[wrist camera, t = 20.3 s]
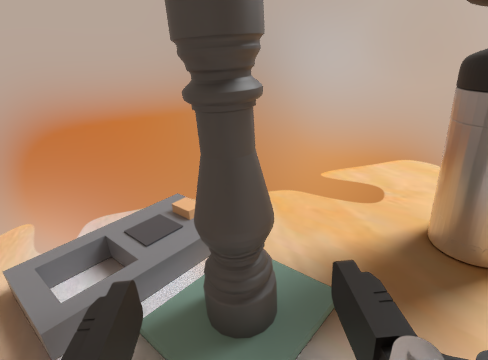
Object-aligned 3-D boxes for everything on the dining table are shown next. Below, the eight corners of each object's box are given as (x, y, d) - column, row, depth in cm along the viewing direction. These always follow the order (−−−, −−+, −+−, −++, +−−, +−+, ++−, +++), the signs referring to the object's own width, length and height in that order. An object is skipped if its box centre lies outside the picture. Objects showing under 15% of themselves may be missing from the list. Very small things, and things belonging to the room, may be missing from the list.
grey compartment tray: (180, 211, 47) (176, 186, 45) (237, 236, 39) (234, 208, 38) (13, 294, 32) (-3, 262, 31) (52, 361, 25) (35, 323, 23)
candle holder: (192, 319, 26) (132, -22, 17) (233, 276, 31) (205, -9, 21) (254, 351, 23) (224, -47, 13) (289, 298, 28) (286, -26, 18)
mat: (244, 253, 36) (244, 246, 36) (340, 300, 28) (340, 291, 28) (138, 331, 27) (136, 323, 26) (239, 433, 19) (237, 423, 19)
